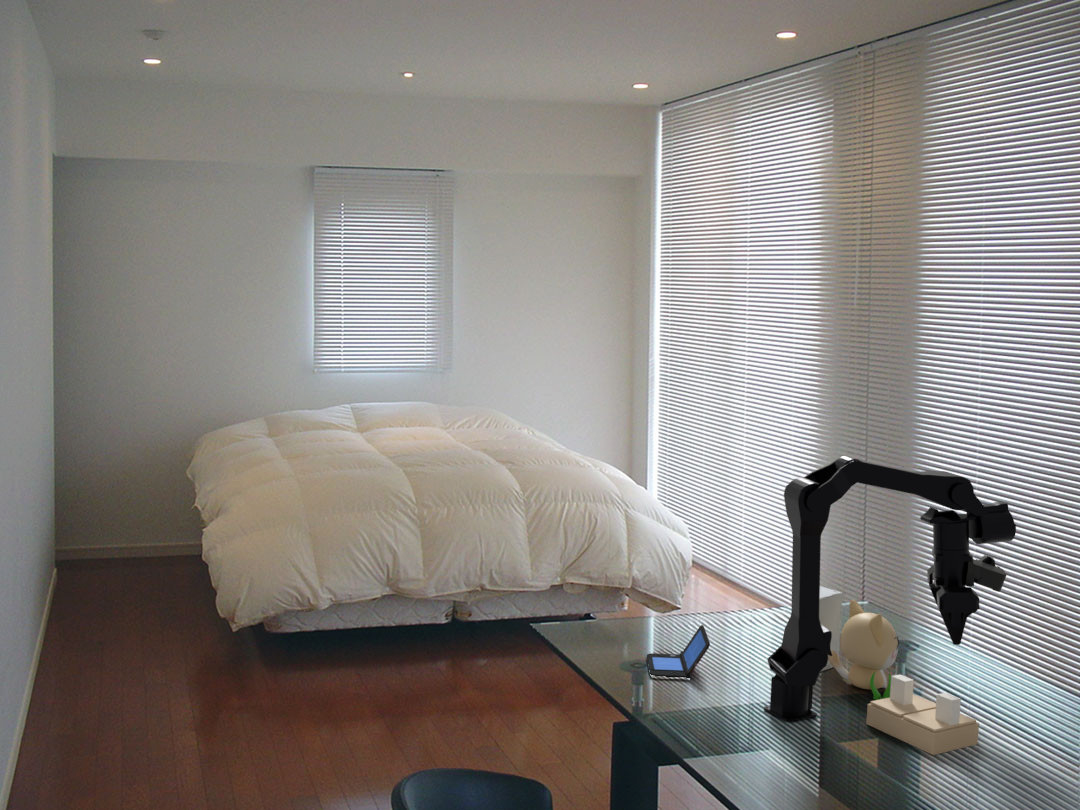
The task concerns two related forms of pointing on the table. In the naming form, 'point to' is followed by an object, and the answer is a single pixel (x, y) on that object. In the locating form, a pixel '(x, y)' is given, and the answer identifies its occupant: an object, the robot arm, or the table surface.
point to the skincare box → (831, 616)
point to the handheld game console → (680, 658)
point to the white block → (941, 714)
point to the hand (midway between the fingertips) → (953, 635)
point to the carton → (922, 732)
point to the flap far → (903, 698)
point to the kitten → (867, 650)
